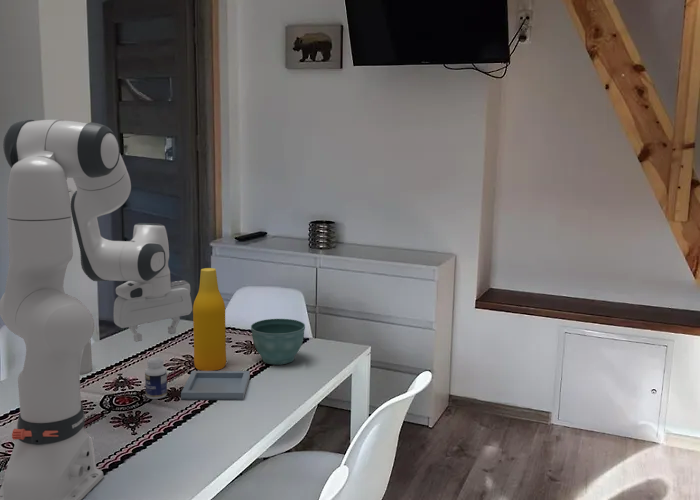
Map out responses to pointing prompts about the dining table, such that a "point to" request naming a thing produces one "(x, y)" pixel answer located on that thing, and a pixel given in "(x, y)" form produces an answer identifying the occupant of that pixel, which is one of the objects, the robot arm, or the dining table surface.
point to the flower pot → (278, 339)
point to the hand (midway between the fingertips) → (155, 337)
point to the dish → (216, 385)
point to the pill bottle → (155, 379)
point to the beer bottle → (209, 324)
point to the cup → (86, 359)
